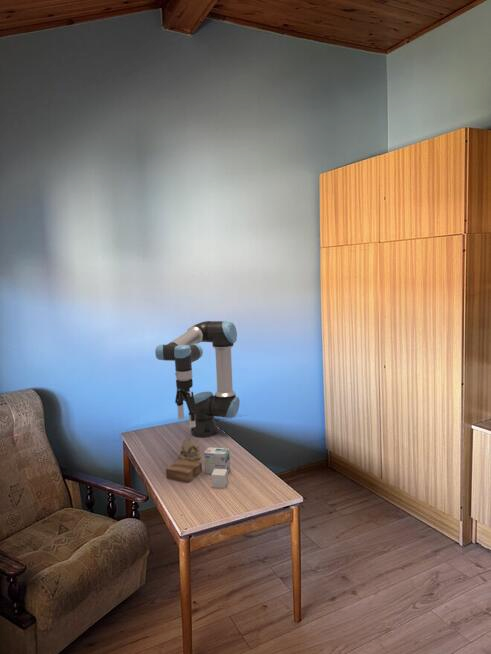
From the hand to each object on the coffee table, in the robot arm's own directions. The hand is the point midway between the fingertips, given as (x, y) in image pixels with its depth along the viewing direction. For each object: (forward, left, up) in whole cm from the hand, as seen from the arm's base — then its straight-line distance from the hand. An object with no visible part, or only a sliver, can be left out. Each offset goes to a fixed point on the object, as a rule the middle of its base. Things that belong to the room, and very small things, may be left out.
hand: (186, 423), depth 234 cm
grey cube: (+5, +19, -25) cm, 32 cm away
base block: (+3, -1, -25) cm, 25 cm away
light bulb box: (-6, +12, -25) cm, 28 cm away
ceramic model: (-16, -9, -25) cm, 31 cm away
